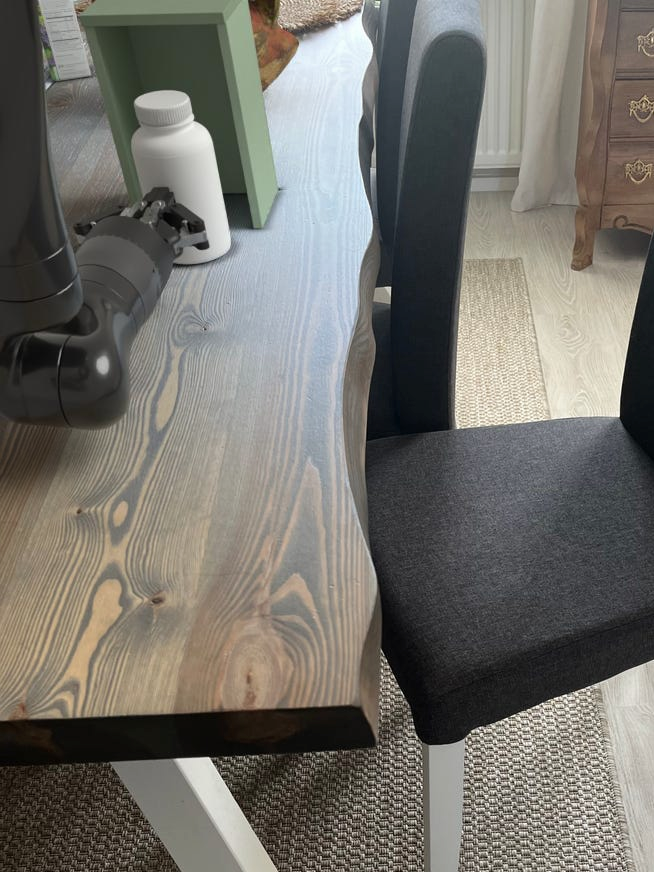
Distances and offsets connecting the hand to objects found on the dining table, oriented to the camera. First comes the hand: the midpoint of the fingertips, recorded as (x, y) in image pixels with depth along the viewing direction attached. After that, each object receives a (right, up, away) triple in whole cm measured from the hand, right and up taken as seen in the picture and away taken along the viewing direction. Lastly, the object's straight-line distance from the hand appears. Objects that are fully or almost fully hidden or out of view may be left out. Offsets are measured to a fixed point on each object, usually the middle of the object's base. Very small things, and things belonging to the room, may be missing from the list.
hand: (163, 196), depth 100 cm
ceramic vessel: (-6, +31, +42) cm, 52 cm away
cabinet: (0, +5, +15) cm, 16 cm away
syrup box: (-31, +42, +53) cm, 74 cm away
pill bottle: (+1, -2, +8) cm, 8 cm away
